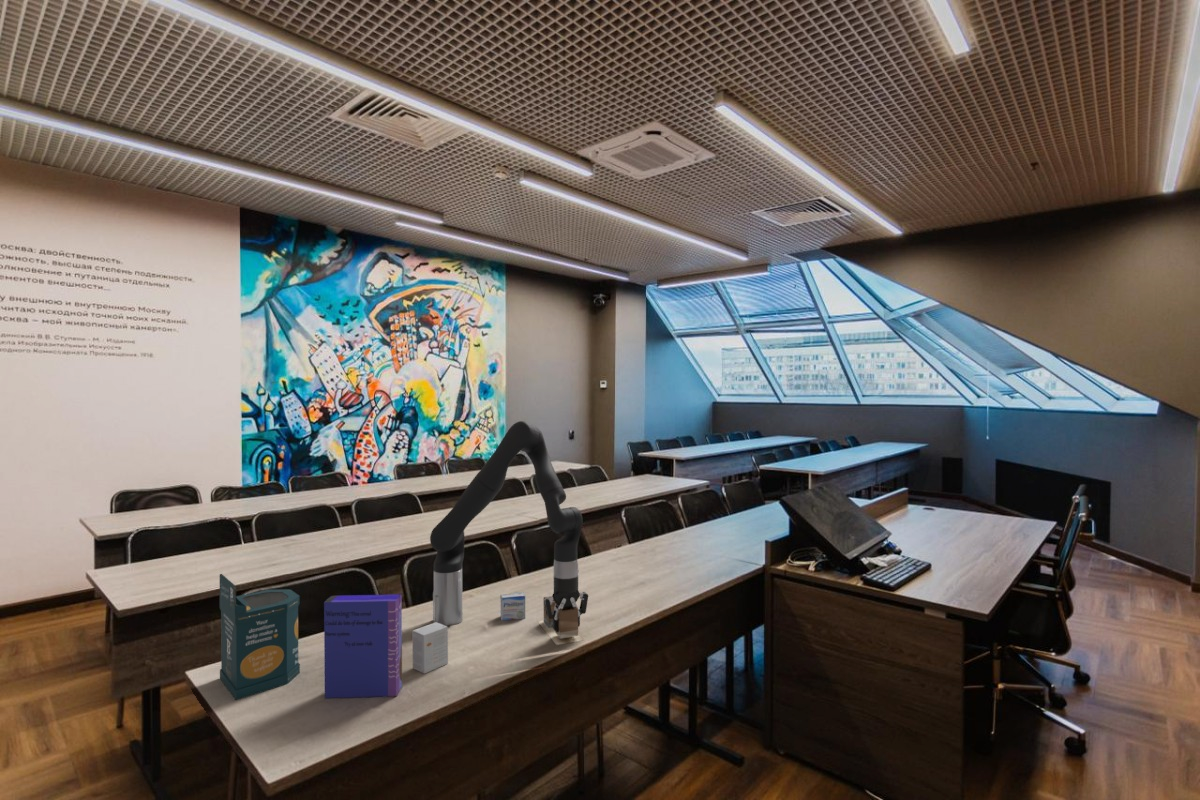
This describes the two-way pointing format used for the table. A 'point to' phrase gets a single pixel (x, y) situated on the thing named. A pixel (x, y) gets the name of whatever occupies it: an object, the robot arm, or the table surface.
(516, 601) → the medicine box
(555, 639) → the pin board
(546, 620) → the wooden pen holder
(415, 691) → the table surface
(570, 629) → the sleeve brown
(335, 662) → the cereal box
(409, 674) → the table surface
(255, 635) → the donation box
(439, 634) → the small box
